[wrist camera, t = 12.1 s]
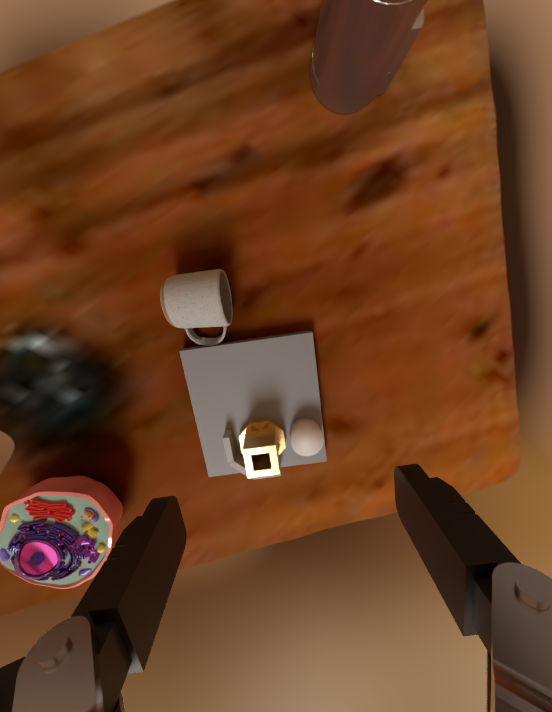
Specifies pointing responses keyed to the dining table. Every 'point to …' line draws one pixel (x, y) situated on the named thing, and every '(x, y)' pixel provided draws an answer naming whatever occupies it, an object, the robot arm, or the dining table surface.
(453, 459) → the dining table surface
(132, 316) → the dining table surface
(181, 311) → the ceramic mug
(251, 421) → the gold hollow block
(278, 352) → the carrier
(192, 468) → the dining table surface
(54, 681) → the robot arm
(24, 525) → the cell model
